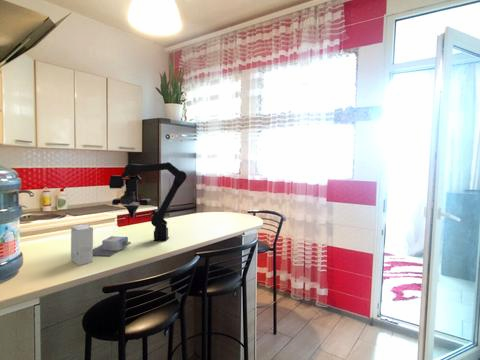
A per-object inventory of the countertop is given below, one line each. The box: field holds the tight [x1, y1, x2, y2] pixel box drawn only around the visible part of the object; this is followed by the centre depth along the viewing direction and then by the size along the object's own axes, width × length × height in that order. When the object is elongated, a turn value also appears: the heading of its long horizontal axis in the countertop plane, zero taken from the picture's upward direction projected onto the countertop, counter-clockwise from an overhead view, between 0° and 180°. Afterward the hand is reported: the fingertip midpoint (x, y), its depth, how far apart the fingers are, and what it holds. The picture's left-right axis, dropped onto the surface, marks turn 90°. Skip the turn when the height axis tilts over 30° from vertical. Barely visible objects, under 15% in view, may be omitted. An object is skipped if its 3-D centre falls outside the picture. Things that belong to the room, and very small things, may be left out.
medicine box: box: [101, 235, 129, 251], centre depth 135 cm, size 8×4×9 cm
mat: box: [93, 241, 132, 257], centre depth 135 cm, size 12×20×1 cm, turn 175°
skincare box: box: [70, 224, 94, 266], centre depth 118 cm, size 8×6×15 cm
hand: (132, 218), depth 148 cm, fingers closed
